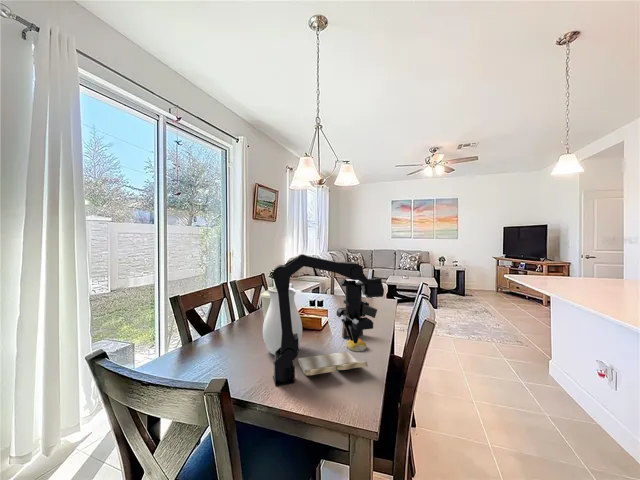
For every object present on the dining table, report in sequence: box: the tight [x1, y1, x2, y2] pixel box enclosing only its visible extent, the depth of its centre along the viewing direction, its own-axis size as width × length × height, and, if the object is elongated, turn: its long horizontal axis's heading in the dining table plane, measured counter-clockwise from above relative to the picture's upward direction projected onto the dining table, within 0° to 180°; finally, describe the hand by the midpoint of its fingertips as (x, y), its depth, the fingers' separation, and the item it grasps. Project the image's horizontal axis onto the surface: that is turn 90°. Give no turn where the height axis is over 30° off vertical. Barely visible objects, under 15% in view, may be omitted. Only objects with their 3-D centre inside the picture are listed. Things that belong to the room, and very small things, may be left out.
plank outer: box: [336, 360, 368, 371], centre depth 103 cm, size 9×8×2 cm
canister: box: [259, 286, 276, 320], centre depth 163 cm, size 18×18×21 cm
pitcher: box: [262, 282, 303, 356], centre depth 126 cm, size 24×17×28 cm
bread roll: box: [346, 338, 367, 352], centre depth 126 cm, size 8×9×4 cm
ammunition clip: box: [341, 317, 364, 340], centre depth 140 cm, size 11×2×12 cm, turn 112°
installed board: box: [297, 351, 359, 375], centre depth 110 cm, size 21×10×2 cm, turn 108°
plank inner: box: [304, 366, 337, 376], centre depth 100 cm, size 9×8×2 cm
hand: (353, 341), depth 101 cm, fingers open, 3 cm apart
